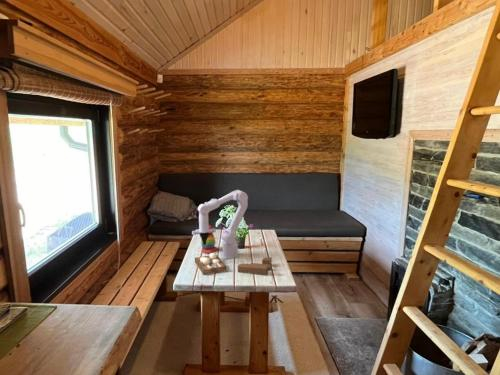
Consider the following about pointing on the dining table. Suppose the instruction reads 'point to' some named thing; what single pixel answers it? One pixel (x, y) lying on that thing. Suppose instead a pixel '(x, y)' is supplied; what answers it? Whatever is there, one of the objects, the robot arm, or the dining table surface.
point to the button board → (210, 266)
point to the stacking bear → (209, 244)
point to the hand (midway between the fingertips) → (204, 244)
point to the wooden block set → (256, 267)
